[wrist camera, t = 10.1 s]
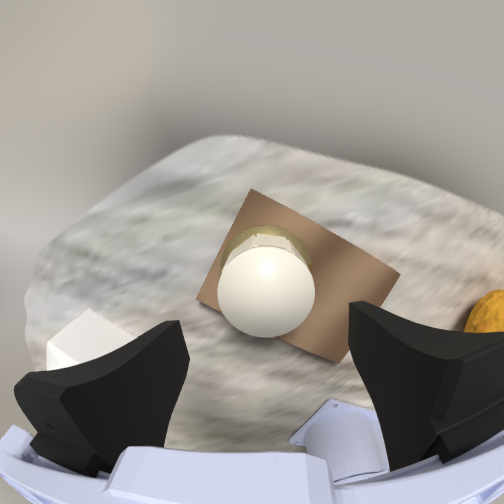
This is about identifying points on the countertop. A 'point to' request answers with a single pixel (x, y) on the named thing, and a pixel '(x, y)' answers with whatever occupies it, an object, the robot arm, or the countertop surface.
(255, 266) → the cap
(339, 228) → the countertop surface
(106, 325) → the medicine bottle
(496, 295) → the potato
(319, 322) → the board
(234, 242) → the knob
